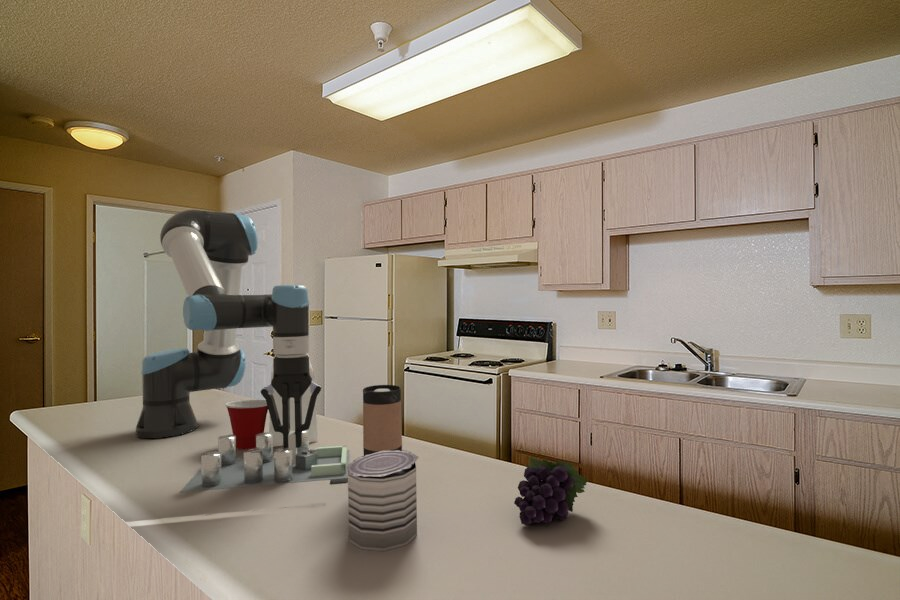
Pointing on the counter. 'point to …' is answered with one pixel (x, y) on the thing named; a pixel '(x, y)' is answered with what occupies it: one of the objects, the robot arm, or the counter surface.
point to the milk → (305, 403)
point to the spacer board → (265, 475)
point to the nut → (306, 459)
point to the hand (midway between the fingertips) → (293, 462)
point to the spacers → (250, 460)
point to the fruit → (548, 491)
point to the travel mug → (382, 419)
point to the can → (382, 500)
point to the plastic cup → (247, 421)
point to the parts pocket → (330, 468)
